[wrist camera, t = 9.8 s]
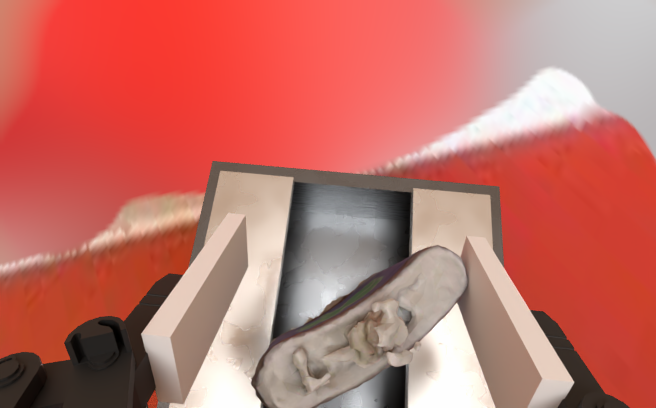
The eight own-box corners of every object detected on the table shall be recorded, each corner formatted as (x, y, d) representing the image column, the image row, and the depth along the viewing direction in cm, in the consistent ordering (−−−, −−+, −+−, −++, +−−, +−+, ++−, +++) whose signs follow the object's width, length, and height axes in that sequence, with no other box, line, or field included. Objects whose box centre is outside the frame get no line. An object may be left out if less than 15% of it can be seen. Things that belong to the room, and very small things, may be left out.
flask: (384, 265, 22) (471, 220, 12) (410, 305, 22) (524, 294, 11) (255, 347, 20) (228, 379, 10) (280, 396, 19) (281, 484, 9)
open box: (193, 449, 26) (126, 512, 17) (241, 198, 32) (208, 156, 24) (463, 483, 25) (529, 566, 17) (458, 218, 31) (504, 182, 23)
